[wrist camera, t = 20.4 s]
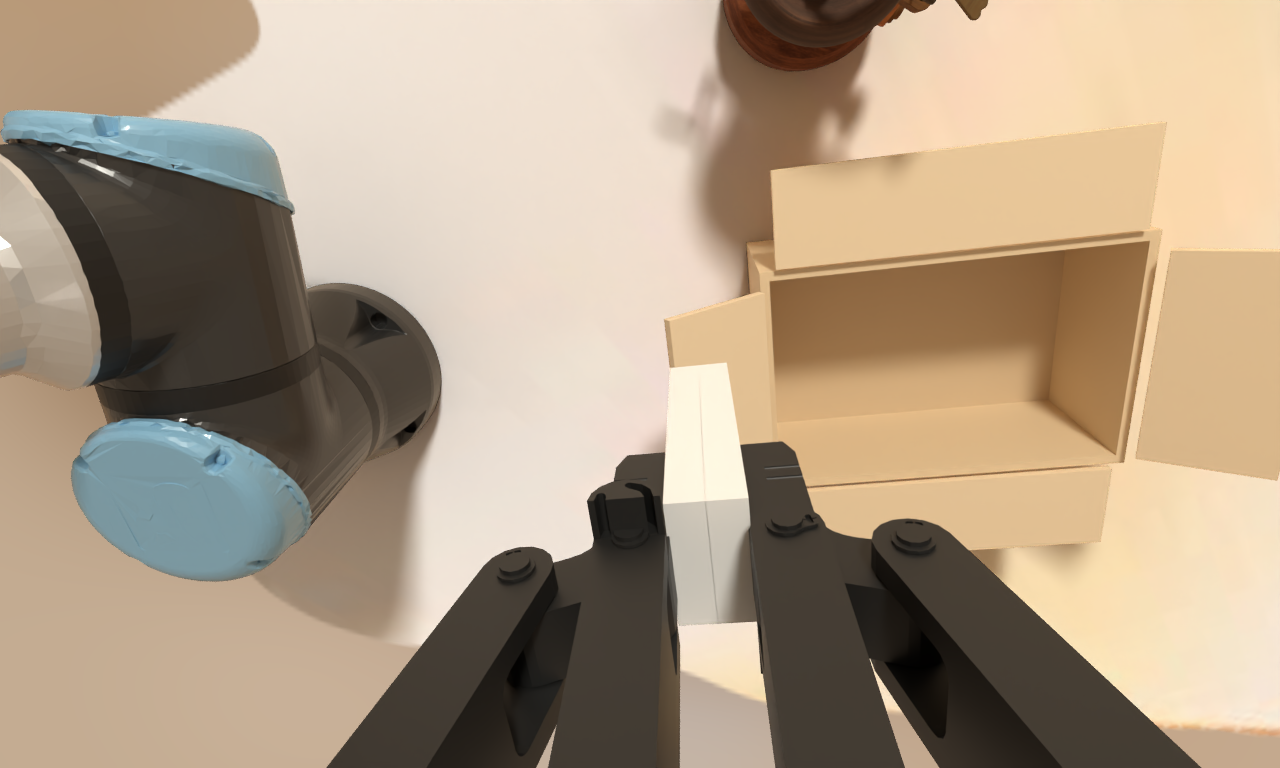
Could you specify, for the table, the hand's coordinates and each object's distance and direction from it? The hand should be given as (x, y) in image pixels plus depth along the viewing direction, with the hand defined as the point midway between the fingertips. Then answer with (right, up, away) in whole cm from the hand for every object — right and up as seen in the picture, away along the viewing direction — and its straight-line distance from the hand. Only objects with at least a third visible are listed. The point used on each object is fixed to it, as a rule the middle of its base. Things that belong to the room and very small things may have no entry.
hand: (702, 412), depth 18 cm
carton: (+19, +5, +36) cm, 41 cm away
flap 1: (+7, 0, +27) cm, 28 cm away
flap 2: (+30, +2, +25) cm, 39 cm away
